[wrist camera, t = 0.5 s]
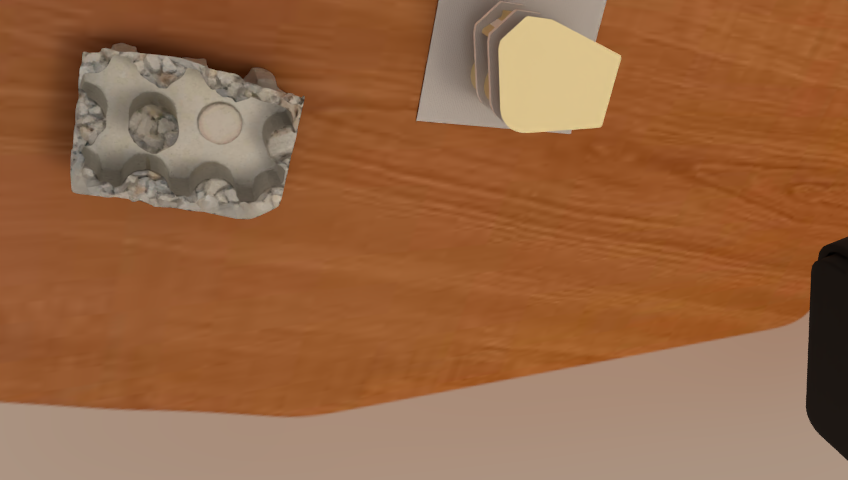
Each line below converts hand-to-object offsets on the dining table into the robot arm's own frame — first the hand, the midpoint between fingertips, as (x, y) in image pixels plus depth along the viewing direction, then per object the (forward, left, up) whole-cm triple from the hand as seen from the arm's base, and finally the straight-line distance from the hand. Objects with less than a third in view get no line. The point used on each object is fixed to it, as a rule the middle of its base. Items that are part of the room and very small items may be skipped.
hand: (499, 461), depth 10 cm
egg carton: (+2, -8, -35) cm, 36 cm away
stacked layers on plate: (+15, +5, -35) cm, 39 cm away
